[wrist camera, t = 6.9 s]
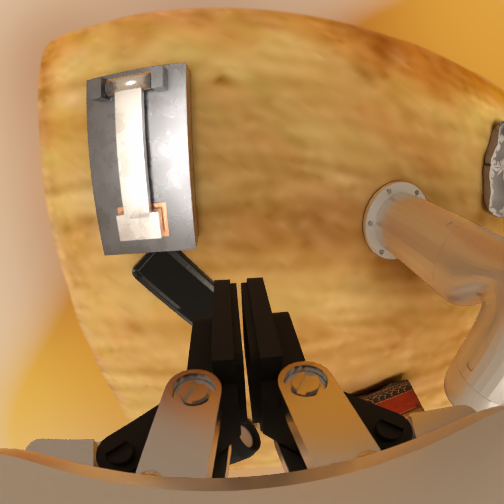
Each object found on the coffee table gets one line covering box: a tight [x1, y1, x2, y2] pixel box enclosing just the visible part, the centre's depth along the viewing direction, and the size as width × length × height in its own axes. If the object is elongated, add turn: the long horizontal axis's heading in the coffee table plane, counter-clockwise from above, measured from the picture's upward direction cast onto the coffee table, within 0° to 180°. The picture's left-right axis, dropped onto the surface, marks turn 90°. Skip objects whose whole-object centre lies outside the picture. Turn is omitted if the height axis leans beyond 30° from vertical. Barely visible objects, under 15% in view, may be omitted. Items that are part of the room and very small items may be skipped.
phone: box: [132, 250, 214, 326], centre depth 42 cm, size 8×1×15 cm
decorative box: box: [355, 380, 424, 417], centre depth 53 cm, size 20×22×16 cm
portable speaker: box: [229, 421, 261, 465], centre depth 54 cm, size 26×10×10 cm, turn 129°
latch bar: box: [105, 72, 164, 241], centre depth 28 cm, size 18×5×2 cm, turn 1°
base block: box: [87, 62, 199, 255], centre depth 30 cm, size 22×12×8 cm, turn 1°
